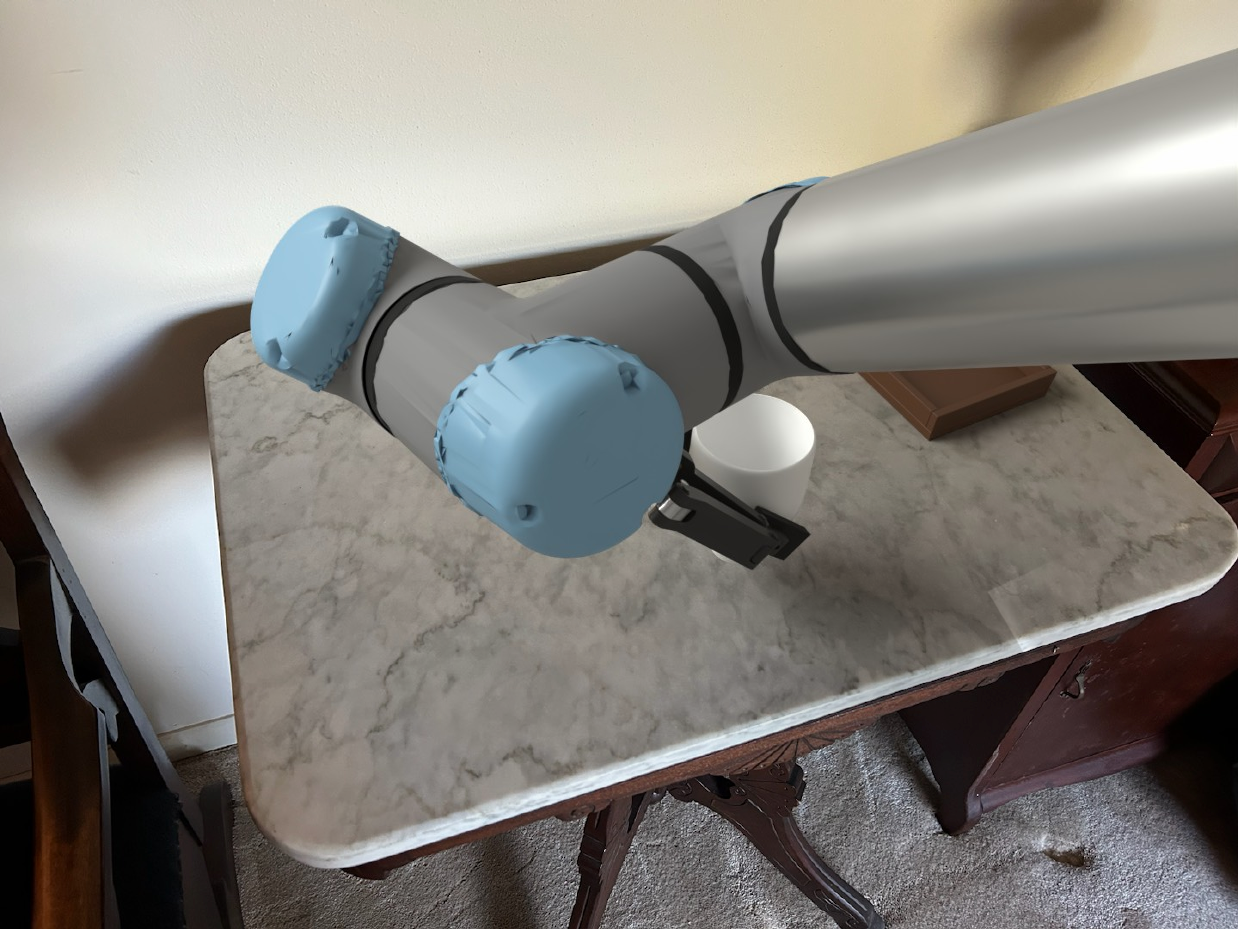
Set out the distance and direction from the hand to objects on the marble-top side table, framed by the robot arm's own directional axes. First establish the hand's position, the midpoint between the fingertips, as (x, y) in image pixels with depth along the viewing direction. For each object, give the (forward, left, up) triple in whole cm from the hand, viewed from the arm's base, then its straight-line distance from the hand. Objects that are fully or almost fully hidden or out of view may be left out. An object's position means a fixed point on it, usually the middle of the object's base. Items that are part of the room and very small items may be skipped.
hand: (758, 500), depth 62 cm
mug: (0, +3, -4) cm, 5 cm away
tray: (+13, -30, -7) cm, 33 cm away
